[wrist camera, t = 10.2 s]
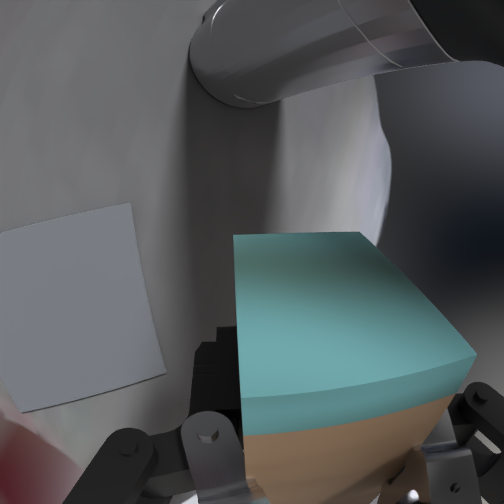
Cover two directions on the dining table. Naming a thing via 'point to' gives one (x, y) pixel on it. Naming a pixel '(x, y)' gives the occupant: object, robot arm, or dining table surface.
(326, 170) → the dining table surface
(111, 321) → the grey mat
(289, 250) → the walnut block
